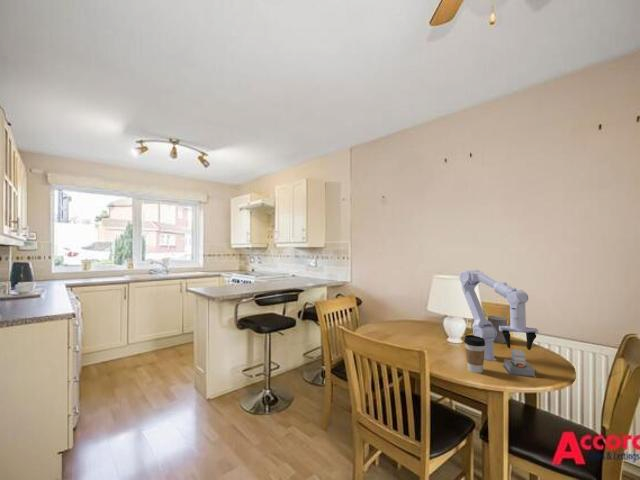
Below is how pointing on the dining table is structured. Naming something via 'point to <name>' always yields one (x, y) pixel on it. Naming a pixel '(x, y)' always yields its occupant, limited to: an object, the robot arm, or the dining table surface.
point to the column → (518, 357)
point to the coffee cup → (474, 353)
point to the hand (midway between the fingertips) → (518, 348)
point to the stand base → (519, 369)
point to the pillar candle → (496, 323)
